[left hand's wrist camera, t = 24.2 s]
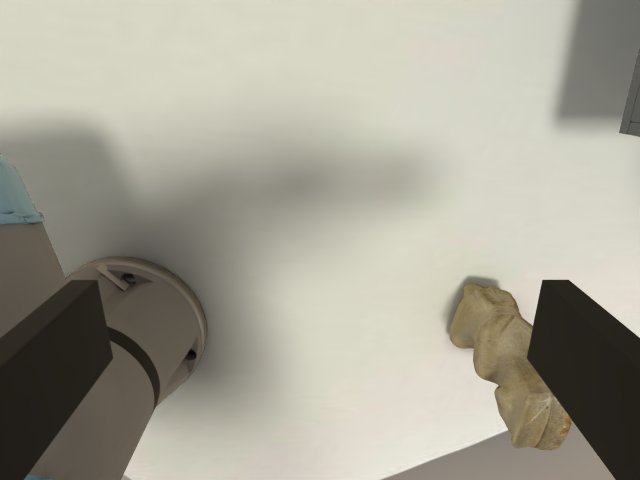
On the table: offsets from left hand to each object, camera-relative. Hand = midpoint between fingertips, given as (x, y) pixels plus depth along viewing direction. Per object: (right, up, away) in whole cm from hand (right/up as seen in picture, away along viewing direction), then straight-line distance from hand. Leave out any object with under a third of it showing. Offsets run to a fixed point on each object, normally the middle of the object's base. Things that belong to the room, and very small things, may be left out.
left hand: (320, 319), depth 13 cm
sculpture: (+15, -4, +30) cm, 34 cm away
